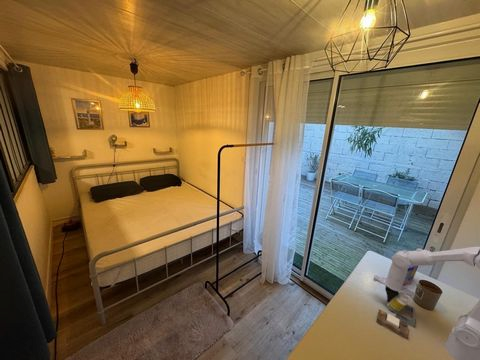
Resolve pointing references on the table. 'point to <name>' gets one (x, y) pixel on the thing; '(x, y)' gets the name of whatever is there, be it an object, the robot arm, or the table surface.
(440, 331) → the table surface
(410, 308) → the lockout bracket
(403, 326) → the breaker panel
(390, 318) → the button
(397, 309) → the supplement bottle
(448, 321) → the table surface
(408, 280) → the ink cartridge box
